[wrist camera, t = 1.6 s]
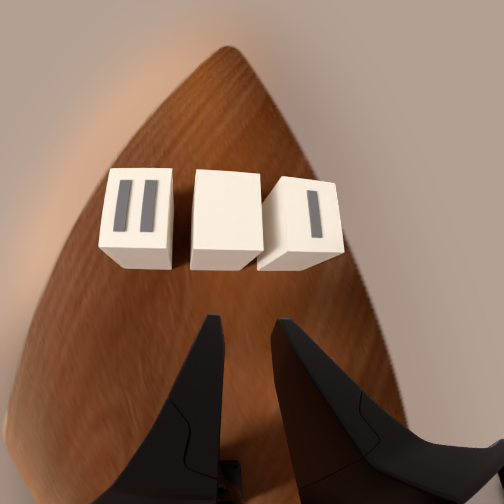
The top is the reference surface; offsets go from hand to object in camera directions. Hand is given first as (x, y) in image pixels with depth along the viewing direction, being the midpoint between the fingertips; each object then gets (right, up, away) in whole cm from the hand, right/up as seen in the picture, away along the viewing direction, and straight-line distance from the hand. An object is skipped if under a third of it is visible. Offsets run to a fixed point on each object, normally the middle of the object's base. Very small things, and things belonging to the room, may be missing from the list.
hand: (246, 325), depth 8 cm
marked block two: (-8, +3, +13) cm, 16 cm away
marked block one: (+2, +3, +16) cm, 16 cm away
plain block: (-3, +3, +14) cm, 15 cm away
